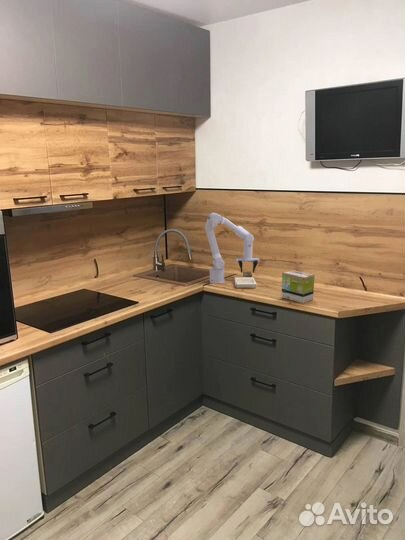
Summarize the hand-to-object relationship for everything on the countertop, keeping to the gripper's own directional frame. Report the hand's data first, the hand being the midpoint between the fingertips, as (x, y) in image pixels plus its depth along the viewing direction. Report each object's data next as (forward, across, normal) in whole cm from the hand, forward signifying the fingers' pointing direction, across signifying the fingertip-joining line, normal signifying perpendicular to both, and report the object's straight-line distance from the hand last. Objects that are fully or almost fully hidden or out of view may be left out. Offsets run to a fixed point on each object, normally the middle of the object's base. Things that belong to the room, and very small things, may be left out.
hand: (247, 272), depth 298 cm
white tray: (+6, -3, -14) cm, 15 cm away
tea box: (+6, +23, -43) cm, 49 cm away
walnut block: (+6, 0, 0) cm, 6 cm away
